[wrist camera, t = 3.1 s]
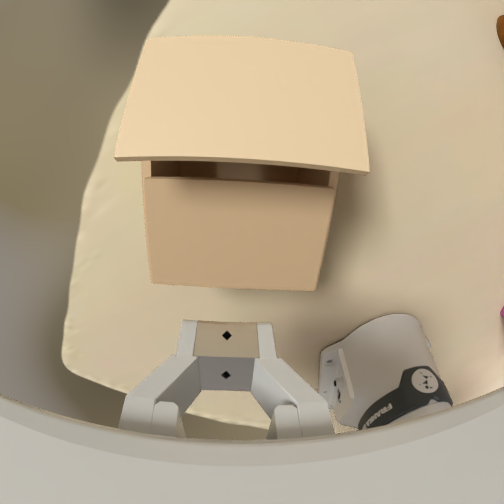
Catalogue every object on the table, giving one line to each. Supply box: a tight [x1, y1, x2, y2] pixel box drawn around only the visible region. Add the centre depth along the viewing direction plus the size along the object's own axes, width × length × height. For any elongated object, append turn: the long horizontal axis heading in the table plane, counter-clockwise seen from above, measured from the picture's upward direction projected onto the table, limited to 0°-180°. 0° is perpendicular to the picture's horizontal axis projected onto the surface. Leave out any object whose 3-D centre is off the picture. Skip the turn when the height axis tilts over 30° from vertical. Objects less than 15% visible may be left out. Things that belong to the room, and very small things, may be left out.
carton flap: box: [114, 35, 370, 175], centre depth 13 cm, size 8×11×1 cm
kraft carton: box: [141, 45, 340, 291], centre depth 21 cm, size 16×12×10 cm
